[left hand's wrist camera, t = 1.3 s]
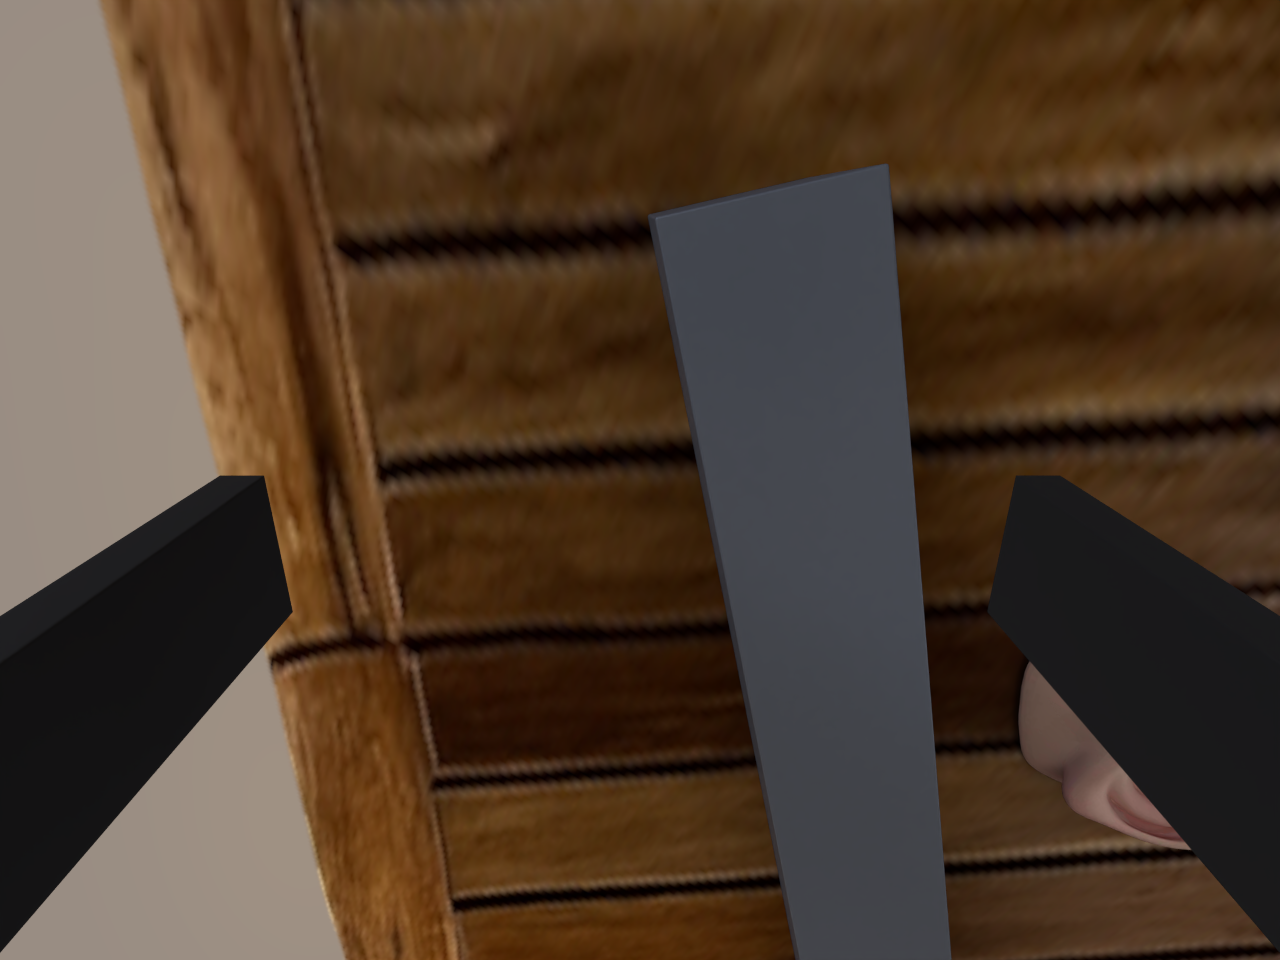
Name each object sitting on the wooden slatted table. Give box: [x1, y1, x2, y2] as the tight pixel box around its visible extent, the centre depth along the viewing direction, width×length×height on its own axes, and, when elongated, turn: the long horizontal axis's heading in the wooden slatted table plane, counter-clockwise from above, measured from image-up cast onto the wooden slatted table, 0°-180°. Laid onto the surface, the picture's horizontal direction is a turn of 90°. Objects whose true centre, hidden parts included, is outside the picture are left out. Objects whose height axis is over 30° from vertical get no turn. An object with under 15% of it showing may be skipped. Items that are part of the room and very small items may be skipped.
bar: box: [648, 164, 951, 960], centre depth 32 cm, size 59×6×8 cm, turn 12°
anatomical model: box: [1018, 661, 1191, 850], centre depth 32 cm, size 13×4×12 cm
